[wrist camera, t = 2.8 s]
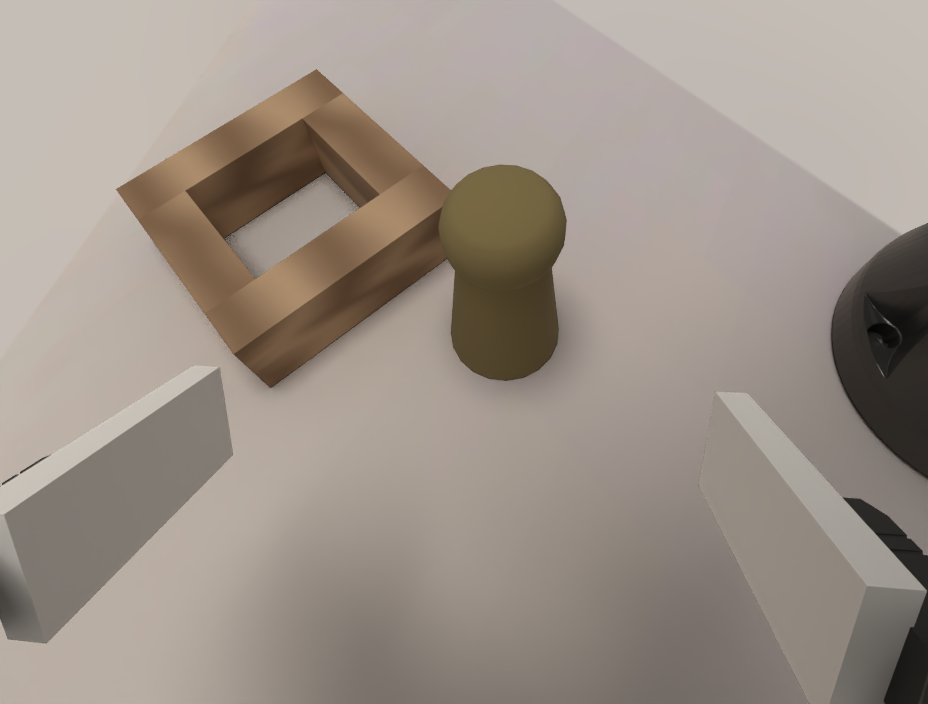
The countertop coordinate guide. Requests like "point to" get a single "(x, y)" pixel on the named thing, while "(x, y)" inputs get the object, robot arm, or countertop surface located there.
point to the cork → (503, 269)
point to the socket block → (267, 183)
